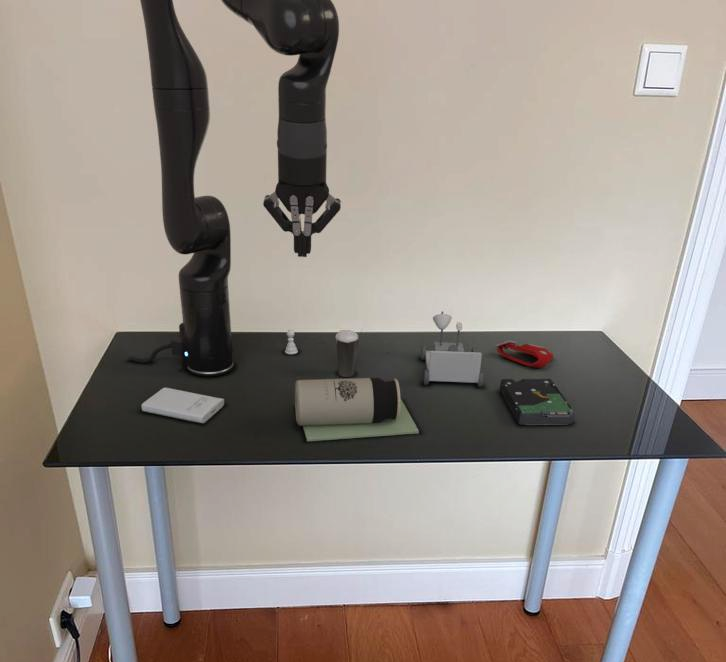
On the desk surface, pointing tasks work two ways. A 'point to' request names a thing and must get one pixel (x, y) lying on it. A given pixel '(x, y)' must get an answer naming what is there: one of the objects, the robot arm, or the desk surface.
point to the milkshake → (346, 352)
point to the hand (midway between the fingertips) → (302, 254)
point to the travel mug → (346, 401)
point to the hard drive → (183, 405)
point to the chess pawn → (291, 343)
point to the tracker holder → (530, 349)
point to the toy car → (451, 359)
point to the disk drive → (536, 402)
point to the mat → (363, 428)
